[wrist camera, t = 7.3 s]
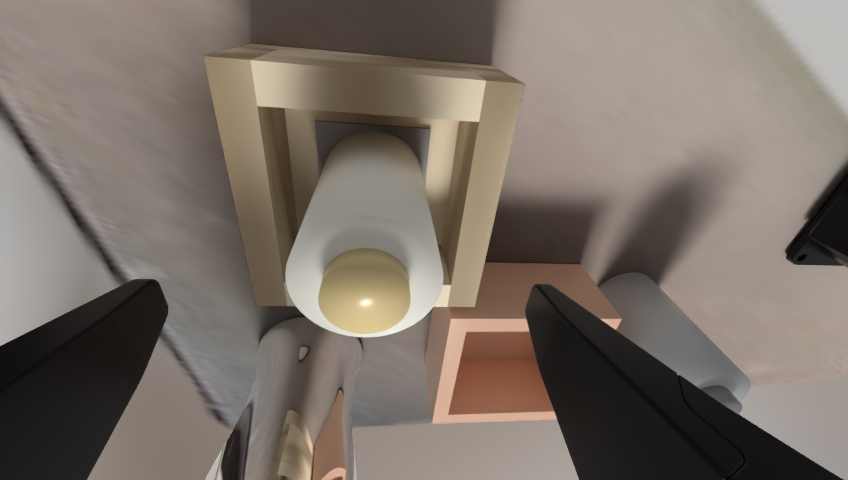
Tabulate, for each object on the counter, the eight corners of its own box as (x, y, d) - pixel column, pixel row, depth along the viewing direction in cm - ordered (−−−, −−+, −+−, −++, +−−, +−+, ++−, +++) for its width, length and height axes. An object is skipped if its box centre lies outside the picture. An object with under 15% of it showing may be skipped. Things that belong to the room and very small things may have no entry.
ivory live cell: (426, 133, 14) (457, 234, 8) (417, 221, 16) (437, 356, 10) (321, 126, 14) (266, 228, 7) (326, 218, 16) (287, 358, 9)
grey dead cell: (665, 272, 21) (784, 385, 15) (637, 321, 23) (731, 438, 17) (602, 271, 21) (697, 387, 14) (579, 321, 23) (653, 442, 16)
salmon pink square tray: (580, 264, 20) (621, 318, 17) (541, 359, 24) (568, 418, 21) (438, 261, 19) (451, 318, 16) (424, 361, 23) (431, 423, 20)
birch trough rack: (491, 65, 14) (525, 84, 11) (458, 253, 19) (474, 307, 16) (250, 43, 13) (203, 56, 10) (280, 249, 18) (255, 305, 14)
